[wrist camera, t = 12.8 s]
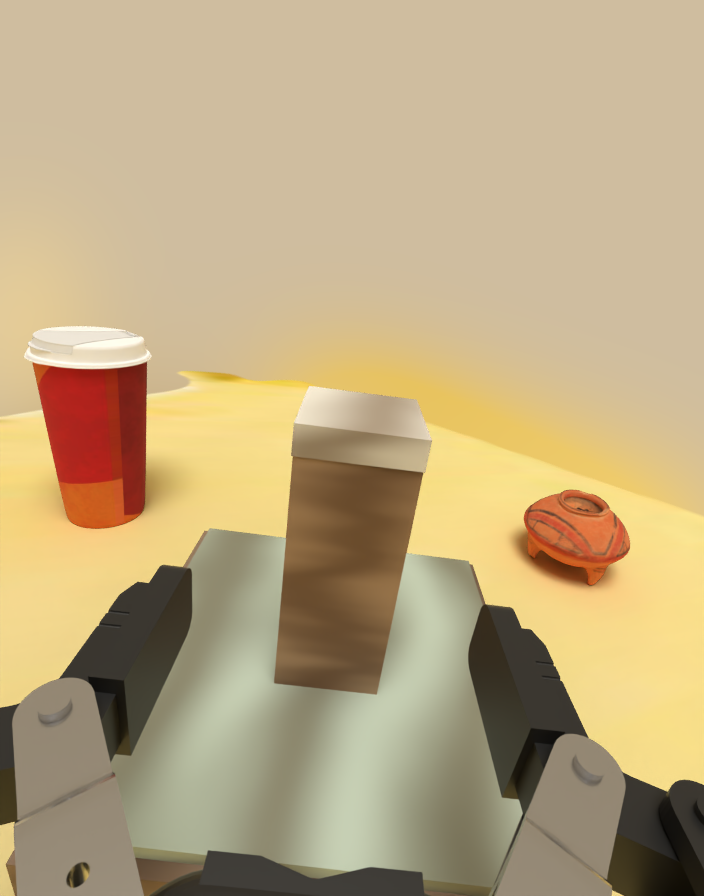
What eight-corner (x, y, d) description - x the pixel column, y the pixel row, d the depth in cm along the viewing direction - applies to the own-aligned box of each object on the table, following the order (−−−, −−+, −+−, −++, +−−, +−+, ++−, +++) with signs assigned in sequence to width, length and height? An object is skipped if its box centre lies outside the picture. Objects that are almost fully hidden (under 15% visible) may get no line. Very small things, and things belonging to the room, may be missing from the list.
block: (272, 684, 20) (293, 423, 15) (288, 608, 24) (309, 386, 19) (377, 695, 20) (432, 440, 15) (375, 618, 24) (416, 399, 19)
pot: (643, 580, 37) (664, 513, 34) (566, 614, 35) (581, 547, 31) (567, 523, 43) (579, 463, 40) (499, 549, 41) (506, 488, 38)
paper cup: (129, 478, 42) (117, 323, 36) (176, 512, 38) (172, 343, 32) (31, 506, 36) (0, 326, 31) (75, 550, 32) (49, 352, 26)
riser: (23, 921, 15) (2, 853, 13) (204, 572, 32) (204, 523, 30) (561, 981, 15) (601, 920, 14) (461, 604, 32) (474, 557, 30)
